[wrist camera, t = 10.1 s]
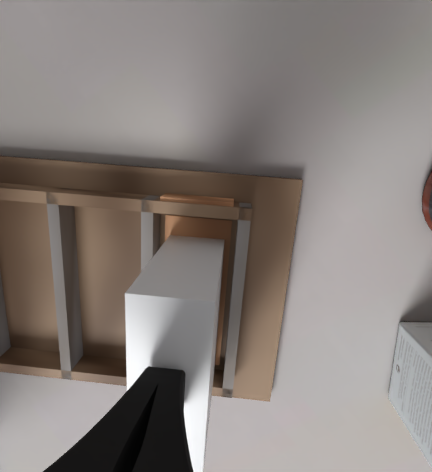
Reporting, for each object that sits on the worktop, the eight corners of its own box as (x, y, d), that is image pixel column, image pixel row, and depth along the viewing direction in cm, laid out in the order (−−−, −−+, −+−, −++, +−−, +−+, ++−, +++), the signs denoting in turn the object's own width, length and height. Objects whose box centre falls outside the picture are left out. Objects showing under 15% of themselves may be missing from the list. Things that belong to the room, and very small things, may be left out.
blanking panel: (167, 358, 19) (128, 472, 12) (170, 235, 17) (125, 293, 10) (215, 363, 19) (202, 481, 12) (224, 239, 17) (215, 301, 10)
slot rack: (-24, 361, 21) (-51, 384, 19) (-61, 150, 17) (-101, 151, 15) (268, 394, 20) (272, 421, 18) (300, 179, 16) (309, 183, 14)
